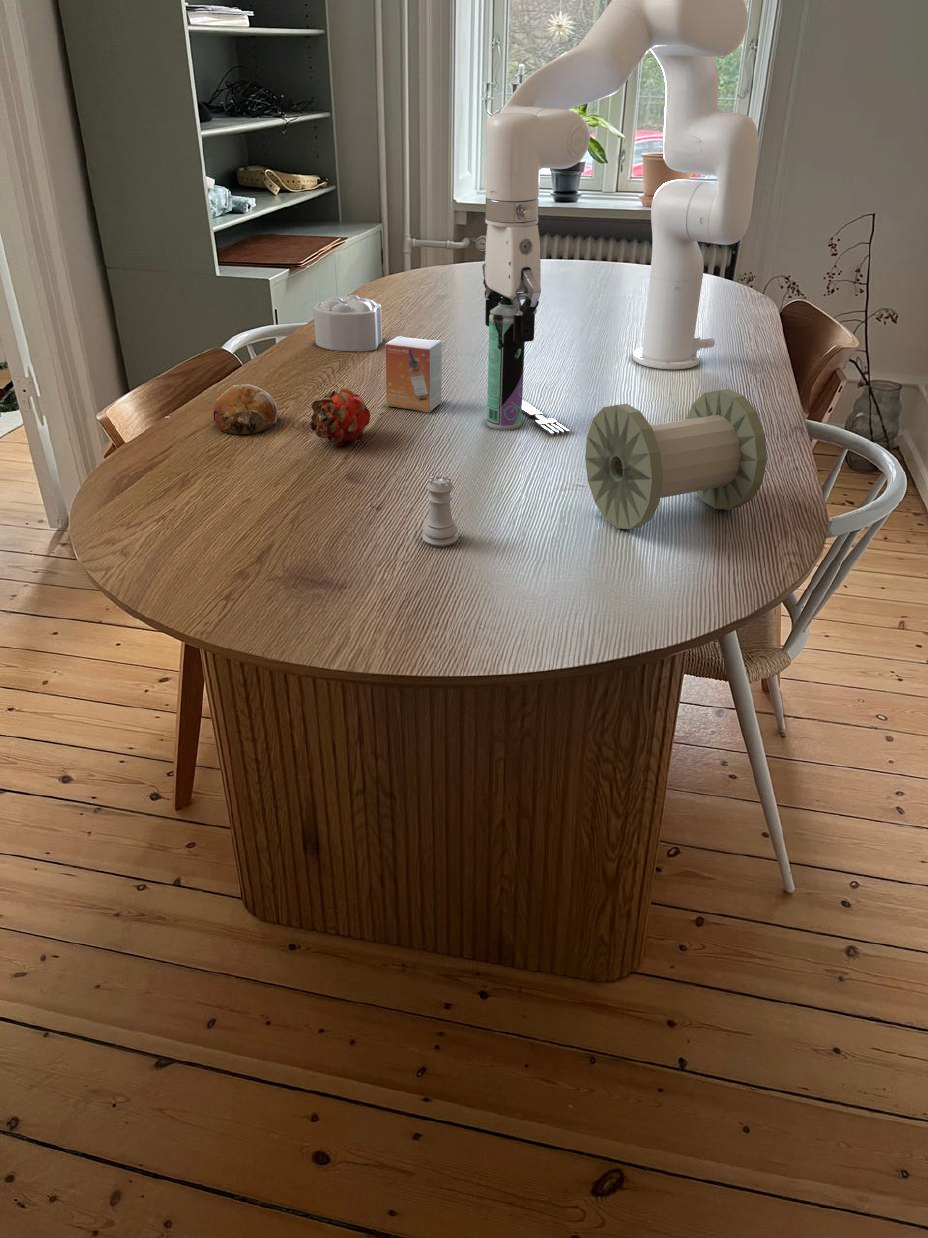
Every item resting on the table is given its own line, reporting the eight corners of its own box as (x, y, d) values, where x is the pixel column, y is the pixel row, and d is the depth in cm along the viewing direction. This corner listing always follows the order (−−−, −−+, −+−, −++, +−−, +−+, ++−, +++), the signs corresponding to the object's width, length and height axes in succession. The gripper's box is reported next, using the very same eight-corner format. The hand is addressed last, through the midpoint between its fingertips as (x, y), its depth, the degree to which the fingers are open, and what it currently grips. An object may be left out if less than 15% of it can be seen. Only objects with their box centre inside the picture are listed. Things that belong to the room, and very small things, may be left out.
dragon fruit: (325, 466, 138) (348, 448, 149) (370, 435, 135) (390, 419, 146) (290, 416, 136) (316, 402, 147) (335, 384, 133) (358, 372, 144)
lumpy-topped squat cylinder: (372, 352, 183) (370, 306, 179) (308, 348, 185) (305, 303, 181) (385, 338, 192) (383, 294, 188) (324, 334, 194) (321, 291, 189)
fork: (503, 402, 159) (503, 398, 158) (520, 400, 160) (520, 396, 159) (551, 436, 145) (551, 431, 145) (569, 433, 146) (569, 428, 146)
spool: (643, 548, 113) (658, 429, 105) (581, 500, 125) (590, 390, 117) (754, 525, 119) (776, 411, 111) (685, 482, 130) (700, 375, 123)
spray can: (518, 431, 147) (523, 299, 136) (484, 428, 148) (486, 297, 137) (523, 419, 152) (529, 291, 141) (490, 416, 152) (493, 289, 142)
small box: (385, 407, 156) (383, 343, 151) (399, 396, 161) (397, 334, 155) (430, 413, 154) (429, 348, 148) (442, 402, 158) (442, 339, 153)
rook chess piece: (421, 532, 116) (420, 472, 112) (457, 531, 117) (457, 471, 112) (422, 548, 112) (421, 487, 108) (460, 547, 113) (460, 486, 109)
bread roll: (286, 442, 151) (292, 392, 150) (254, 436, 142) (260, 382, 141) (232, 435, 154) (238, 385, 153) (197, 428, 144) (203, 375, 143)
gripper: (564, 219, 128) (558, 345, 137) (509, 201, 141) (506, 316, 150) (515, 223, 125) (511, 351, 134) (463, 204, 139) (463, 321, 148)
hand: (509, 332), depth 142 cm, fingers open, 9 cm apart
